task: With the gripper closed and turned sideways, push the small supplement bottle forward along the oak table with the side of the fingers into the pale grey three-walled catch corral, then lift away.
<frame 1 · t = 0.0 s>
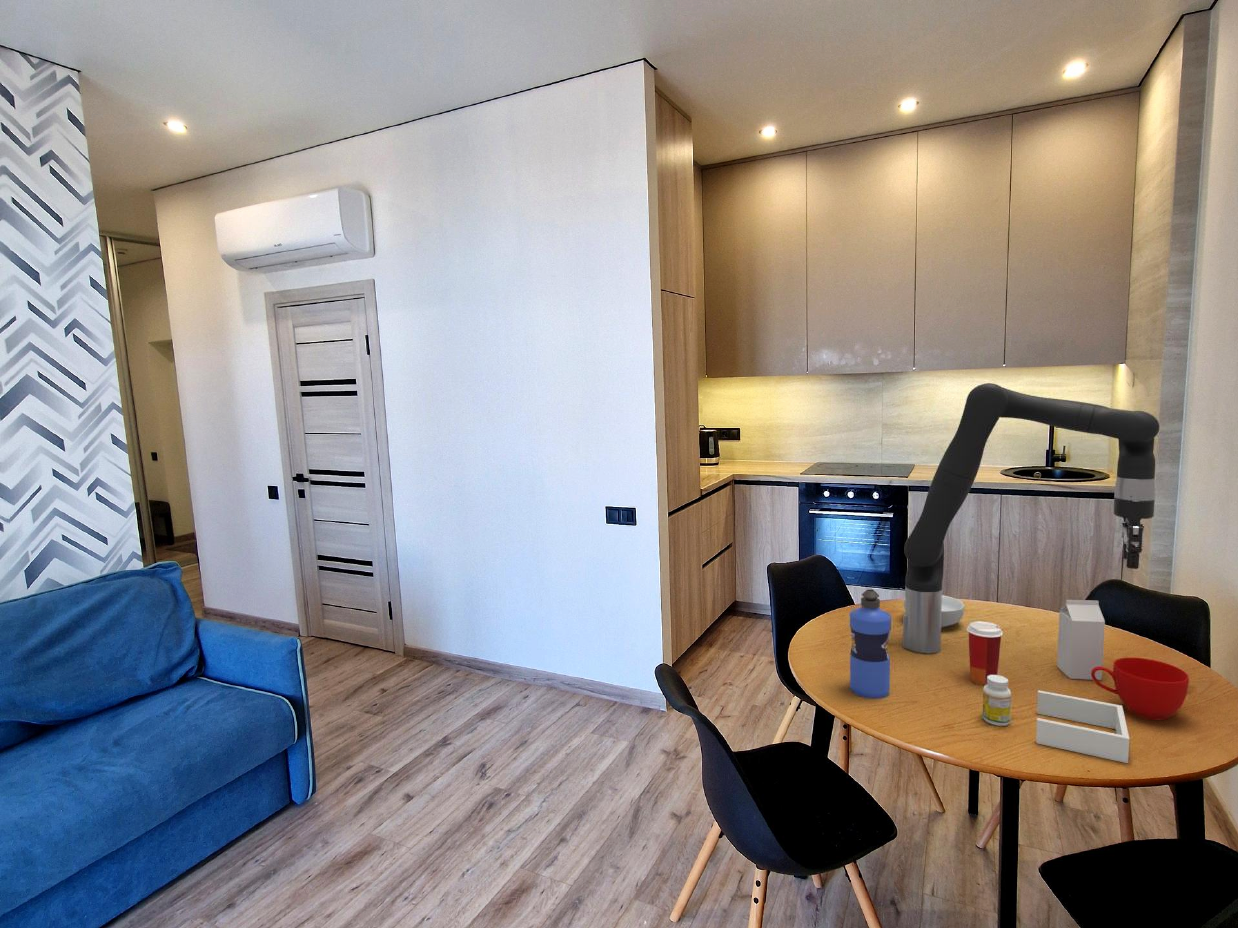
hand: (1130, 563, 158), 29 cm above the table, fingers open, 8 cm apart
catch corral: (1079, 735, 138), on the table
ceramic cup: (1136, 711, 147), on the table
cereal bowl: (933, 624, 203), on the table
supplement bottle: (996, 721, 146), on the table
paper cup: (982, 681, 164), on the table
water bottle: (869, 690, 162), on the table
milk carton: (1078, 674, 166), on the table
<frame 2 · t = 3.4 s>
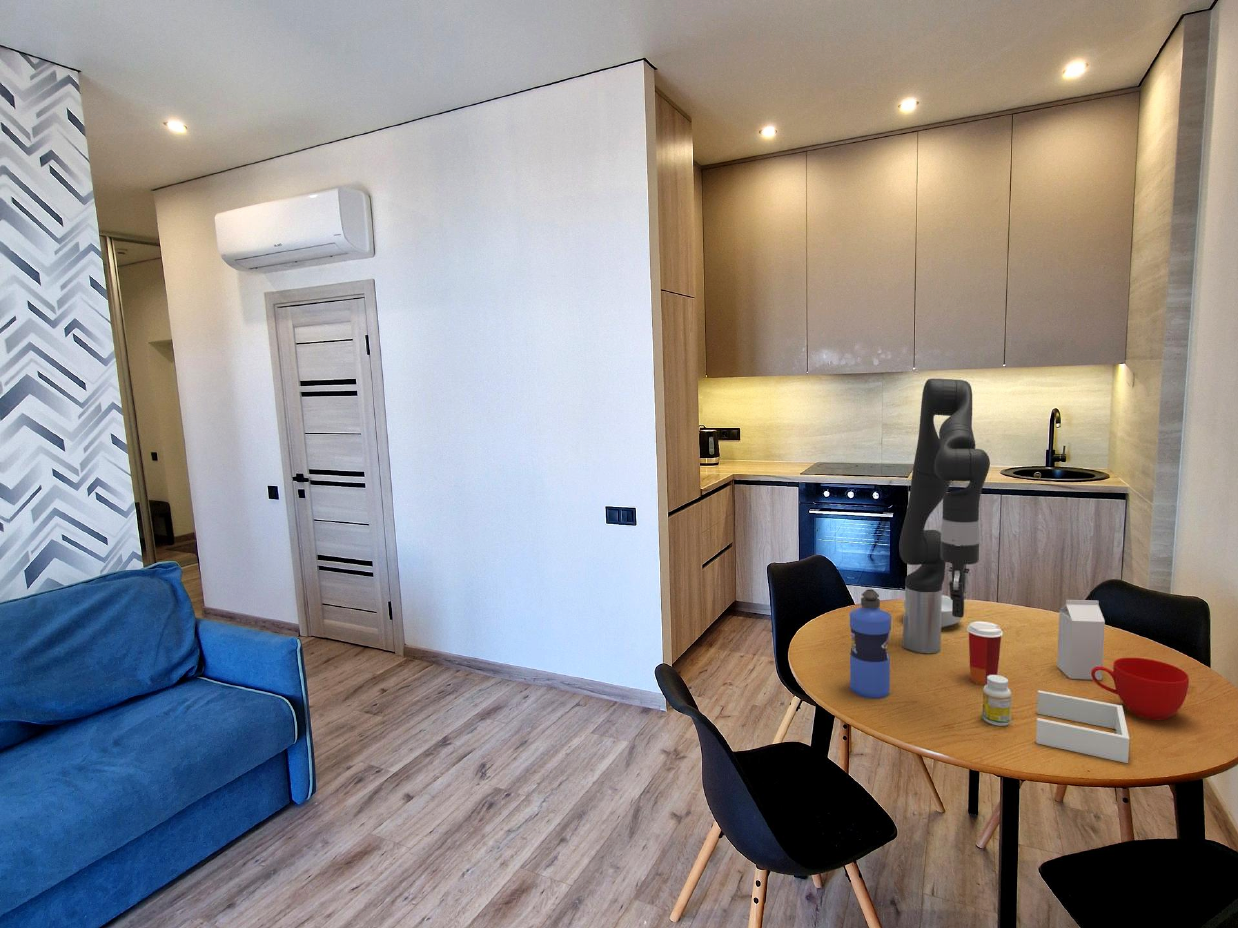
hand: (958, 615, 147), 22 cm above the table, fingers closed
nothing on the table moved.
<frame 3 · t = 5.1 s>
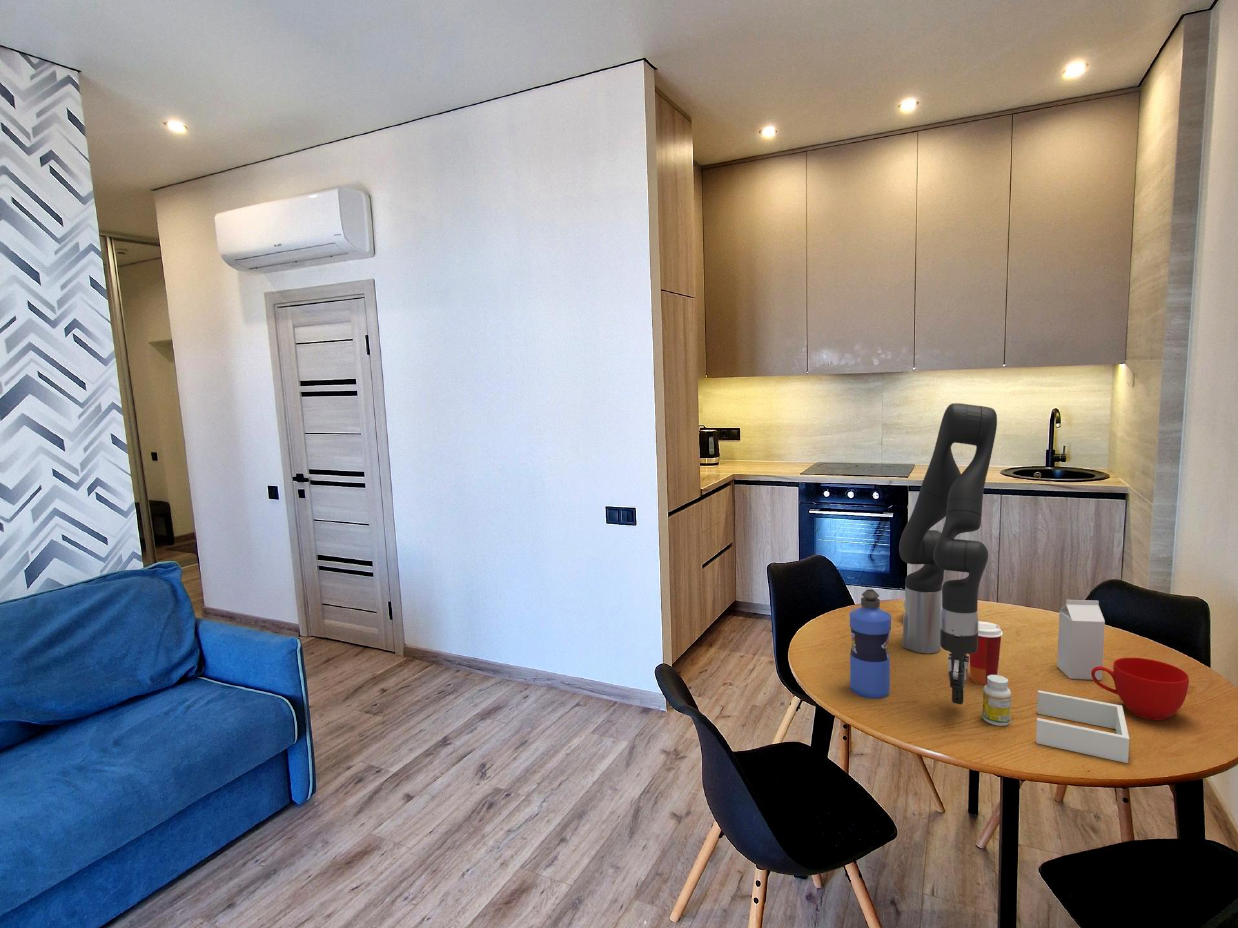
hand: (957, 702, 149), 2 cm above the table, fingers closed
nothing on the table moved.
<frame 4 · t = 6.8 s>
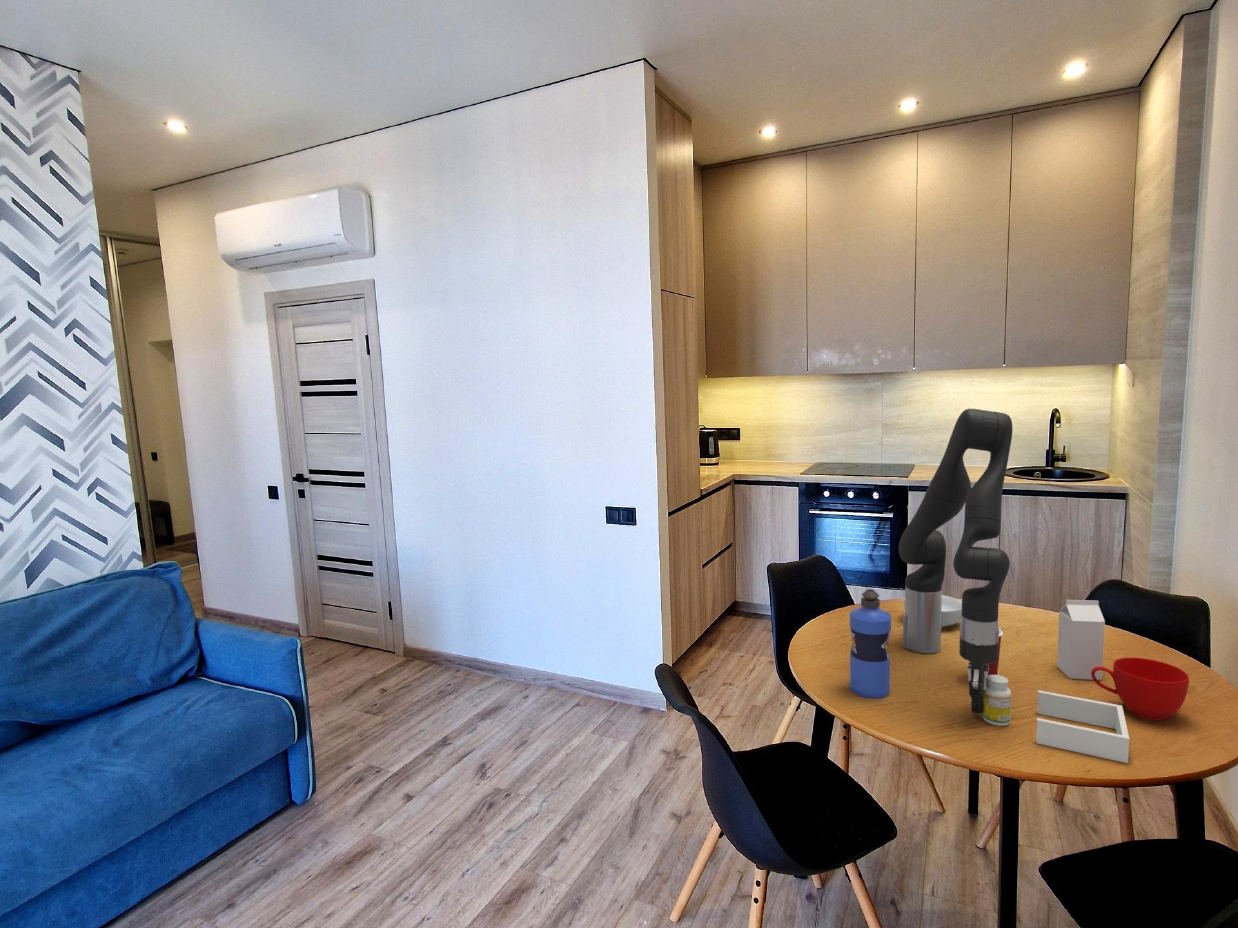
hand: (976, 711, 147), 1 cm above the table, fingers closed
supplement bottle: (996, 721, 146), on the table, touching gripper
everything else where it was.
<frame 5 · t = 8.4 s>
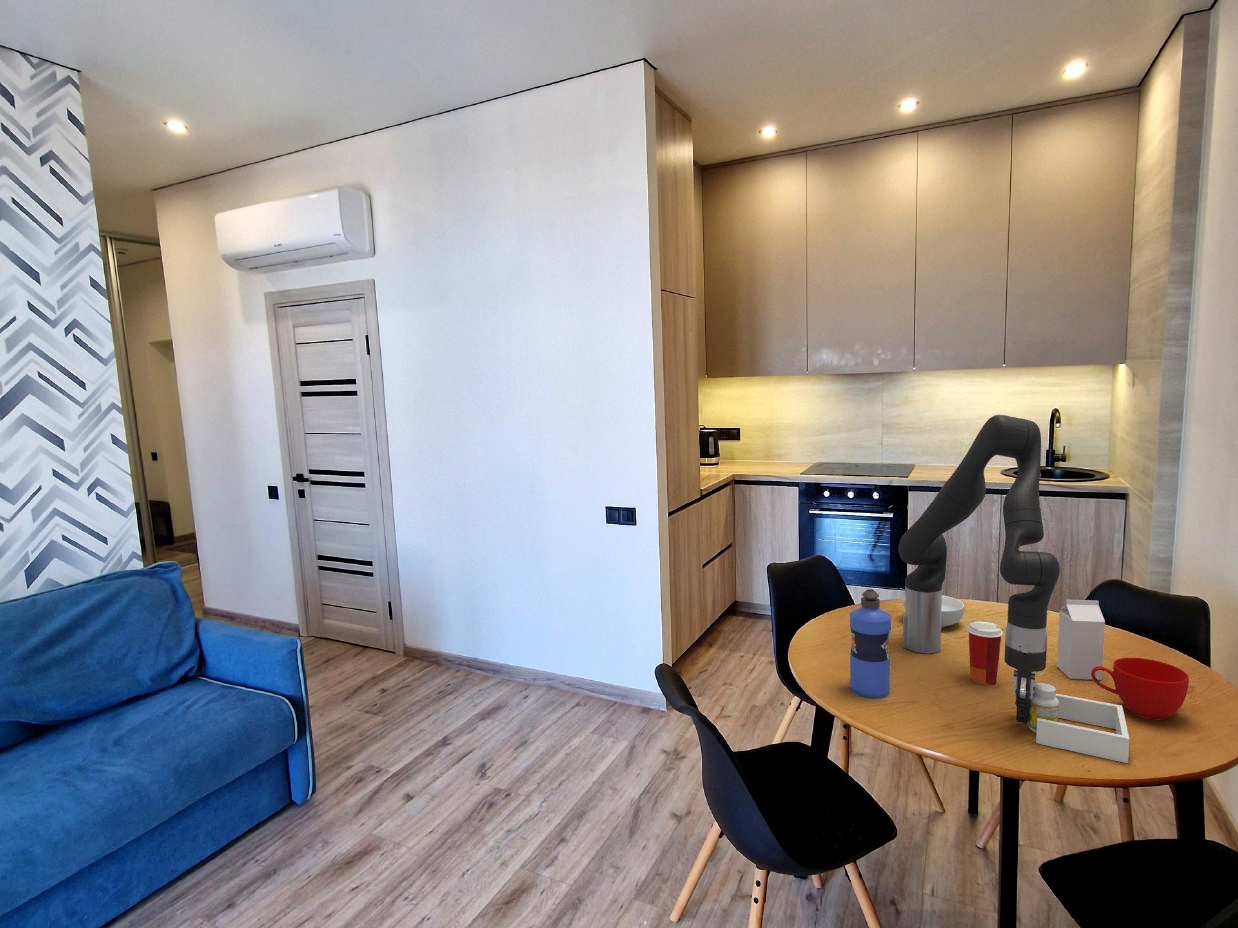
hand: (1022, 721, 142), 1 cm above the table, fingers closed
supplement bottle: (1042, 730, 141), on the table, touching gripper
everything else where it was.
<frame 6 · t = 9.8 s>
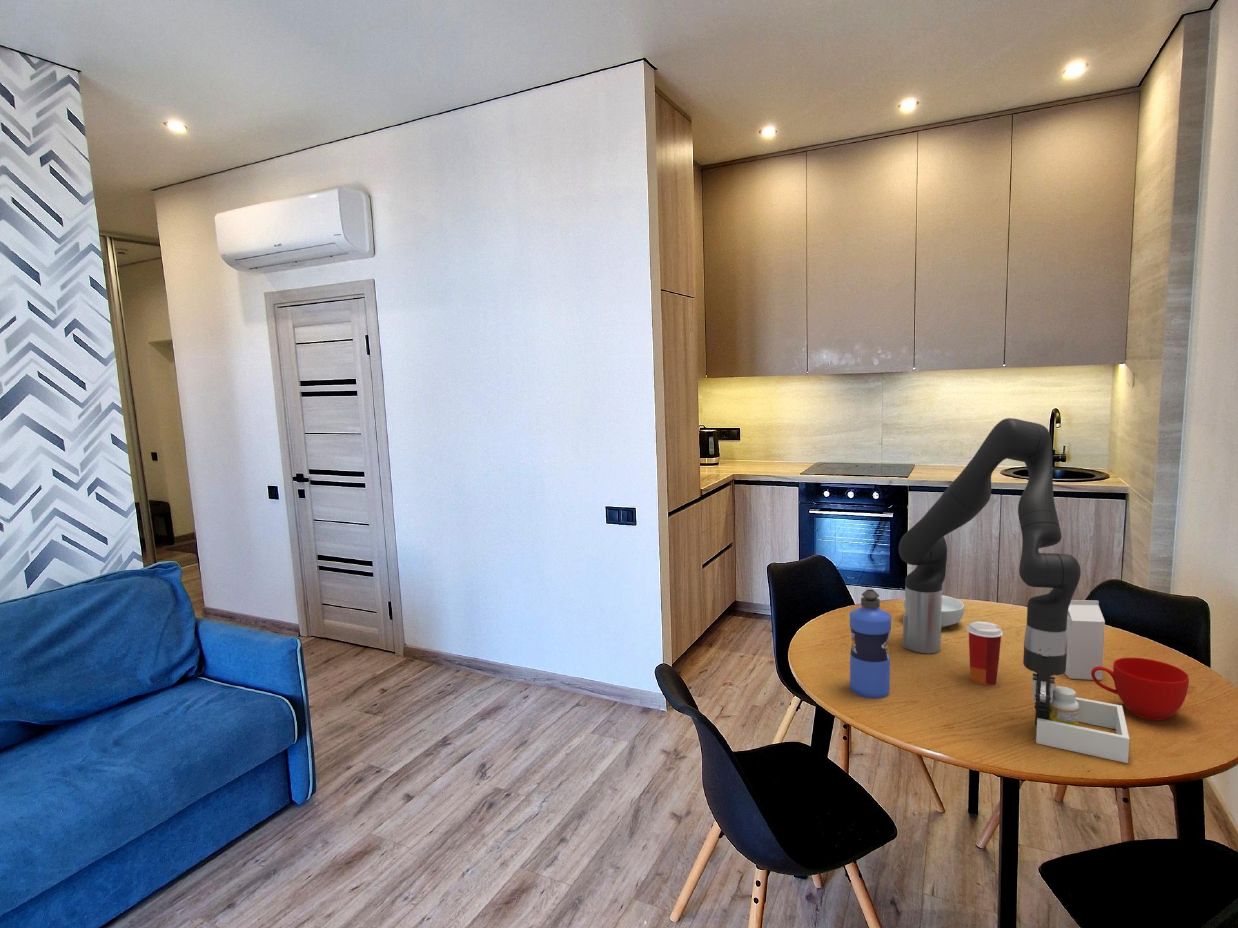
hand: (1041, 725, 141), 1 cm above the table, fingers closed
supplement bottle: (1062, 734, 139), on the table, touching gripper
everything else where it was.
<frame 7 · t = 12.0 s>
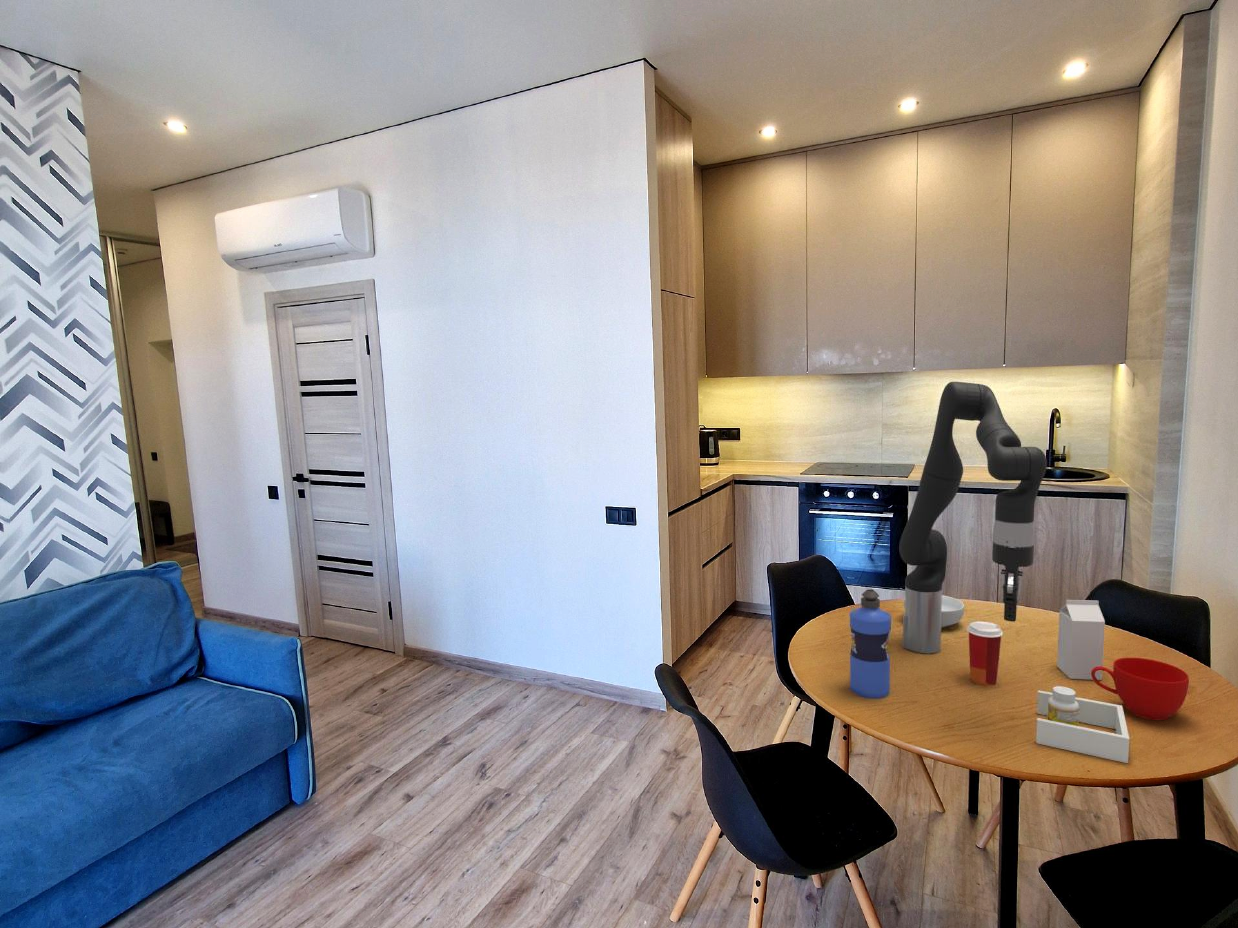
hand: (1009, 619, 142), 23 cm above the table, fingers closed
supplement bottle: (1062, 734, 139), on the table
everything else where it was.
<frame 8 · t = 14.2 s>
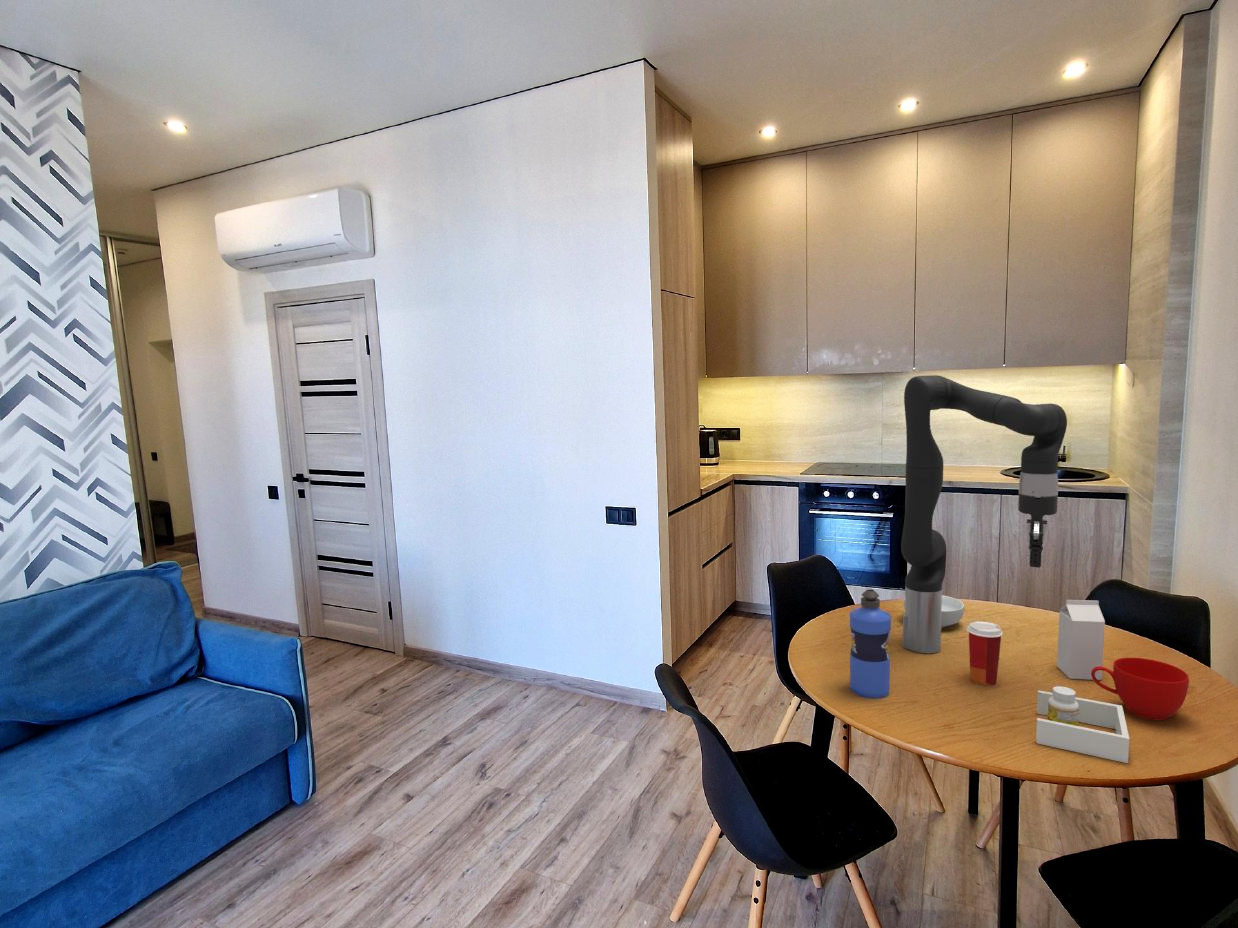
hand: (1035, 566, 153), 31 cm above the table, fingers closed
nothing on the table moved.
at the end: supplement bottle inside the target area on the catch corral (2.7 cm from its centre), point 0.0 cm above the catch corral's base; supplement bottle moved 12.1 cm from its start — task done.
